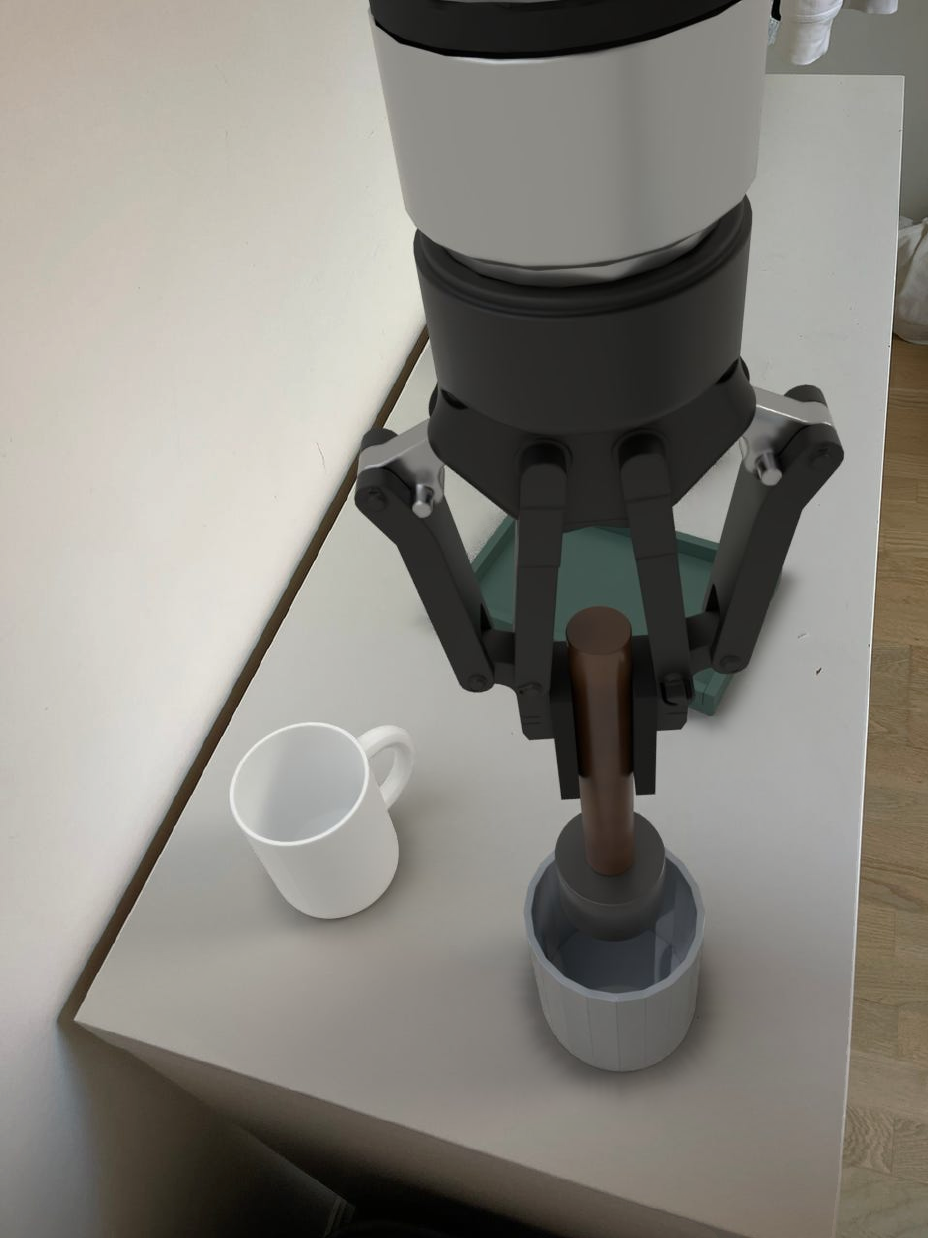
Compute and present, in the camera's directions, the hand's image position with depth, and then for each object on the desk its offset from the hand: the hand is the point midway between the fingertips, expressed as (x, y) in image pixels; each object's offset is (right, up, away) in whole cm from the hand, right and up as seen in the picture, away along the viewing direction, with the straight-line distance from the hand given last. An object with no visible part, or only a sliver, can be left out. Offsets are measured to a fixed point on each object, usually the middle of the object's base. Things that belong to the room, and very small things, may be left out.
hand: (605, 766), depth 39 cm
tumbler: (+3, -16, +18) cm, 24 cm away
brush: (+2, -7, +9) cm, 11 cm away
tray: (+6, +7, +37) cm, 38 cm away
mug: (-12, -9, +27) cm, 31 cm away
